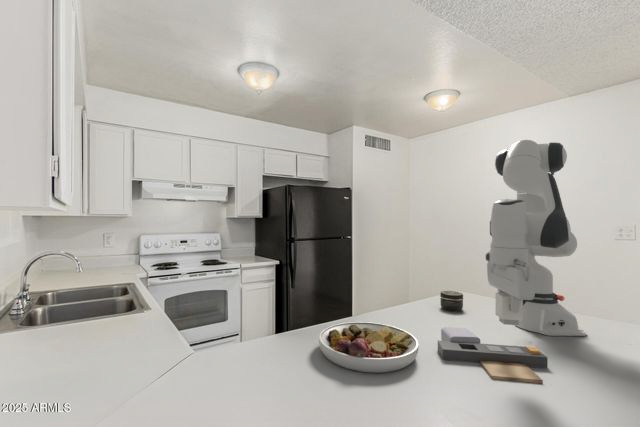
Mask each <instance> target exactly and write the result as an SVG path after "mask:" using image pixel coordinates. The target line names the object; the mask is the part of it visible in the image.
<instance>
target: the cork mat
mask: <svg viewBox="0 0 640 427" xmlns="http://www.w3.org/2000/svg"><path fill="white" fill-rule="evenodd" d="M479 364H480V366H481V367H482V369H483V370H484V371H485V372H486V374H487V375H488V376H489V377H490V378H491V380H501V381H511V382H525V383H536V384H543V381H544V379H542V378H541V377H540V376H539V375H538V374H537V373H536V372H534V371H533V370H532V369H531V367H528V366H527V365H525V364H517V363H504V362H492V361H480V363H479Z"/></svg>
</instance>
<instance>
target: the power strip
mask: <svg viewBox="0 0 640 427" xmlns="http://www.w3.org/2000/svg"><path fill="white" fill-rule="evenodd" d="M437 352H438V353H439V355H440V357H441V359H442V360H443V361H455V362H456V361H457V362H467V363H468V362H469V363H479V364H480V361H492V362H504V363H517V364H525V365H527V366H528V367H529V368H540V369H541V368H542V369H543V368H544V369H548V356H547V355H546V354H544V353H542V352H541V350H539V349H537V348H536V346H519V345H518V346H517V345H505V344H490V343H481V342H480V343H466V342H452V341H443V340H437Z"/></svg>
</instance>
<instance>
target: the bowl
mask: <svg viewBox="0 0 640 427" xmlns="http://www.w3.org/2000/svg"><path fill="white" fill-rule="evenodd" d="M318 345H319V348H320V351H321V352H322V353H323V355H324V356H325V357H326V358H327V359H328V361H331V362H332V363H334V364H336V365H337V366H339V367H342V368H345V369H348V370H352V371H356V372H362V373H380V374H381V373H389V372H394V371H398V370H401V369H403V368H406V367H407V366H409V365H410V364H412V362H414V361H415V359H416V357H418V353H419V346H420V345H419V341H418V339H417V338H416V337H415V336H414V335H413V334H412V333H410V332H408V331H406V330H405V329H401V328H399V327H397V326H393V325H389V324H386V323H385V324H383V323H379V322H369V321H368V322H367V321H352V322H349V321H348V322H341V323H337V324H334V325H331V326H328V327H325V328H324V329H323V330H322V331H321V332H320V333H319V334H318Z"/></svg>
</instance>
